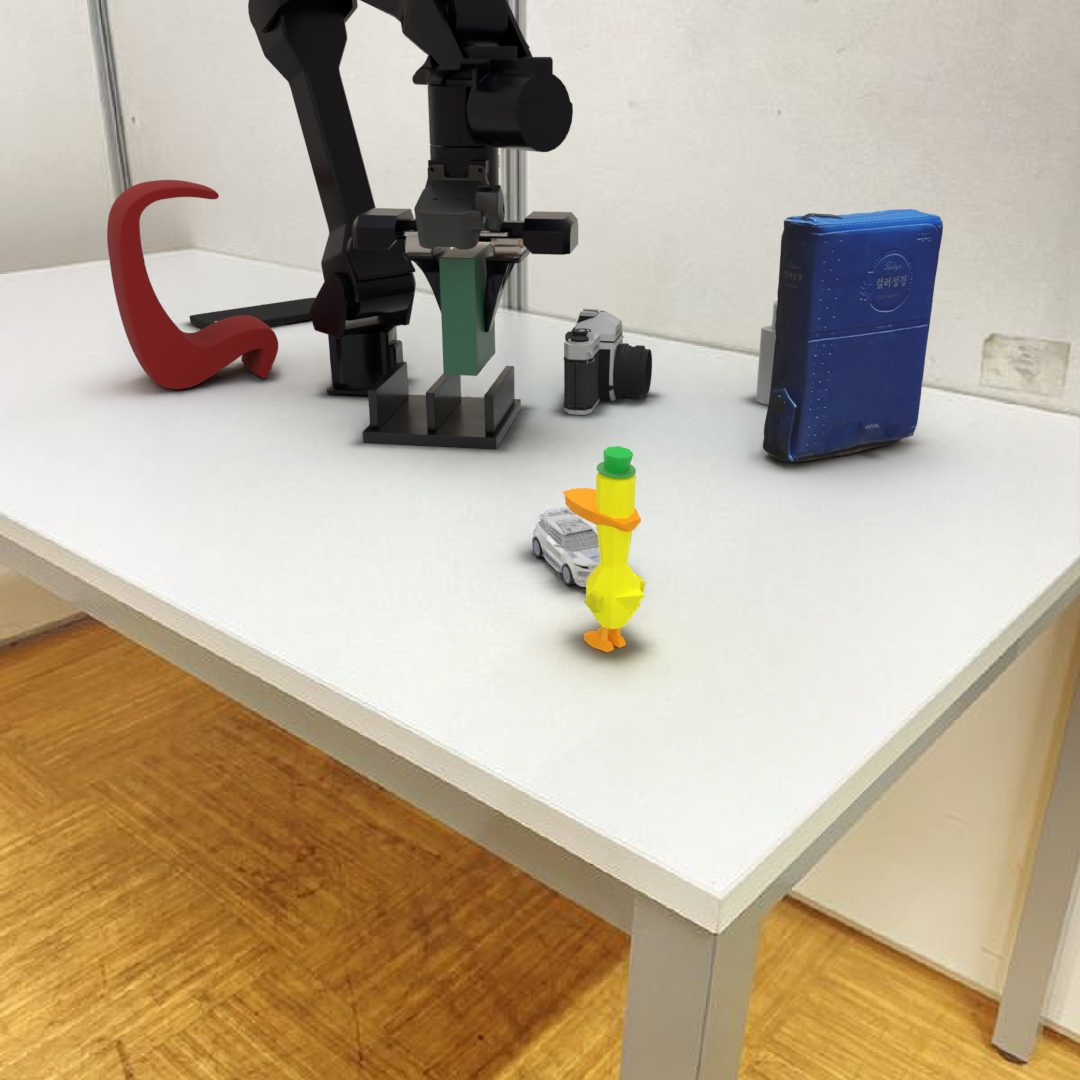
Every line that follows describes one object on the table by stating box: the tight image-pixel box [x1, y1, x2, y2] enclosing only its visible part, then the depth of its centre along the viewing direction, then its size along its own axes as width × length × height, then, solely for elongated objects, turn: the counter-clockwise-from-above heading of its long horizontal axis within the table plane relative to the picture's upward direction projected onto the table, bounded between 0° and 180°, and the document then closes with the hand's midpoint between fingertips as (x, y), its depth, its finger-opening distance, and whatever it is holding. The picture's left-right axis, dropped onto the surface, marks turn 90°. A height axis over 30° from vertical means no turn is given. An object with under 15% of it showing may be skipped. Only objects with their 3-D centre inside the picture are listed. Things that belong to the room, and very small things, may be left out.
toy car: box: [531, 506, 600, 588], centre depth 75 cm, size 4×8×3 cm, turn 24°
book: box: [762, 208, 944, 463], centre depth 93 cm, size 14×5×20 cm, turn 118°
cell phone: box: [189, 297, 316, 329], centre depth 145 cm, size 9×18×1 cm, turn 129°
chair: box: [106, 179, 279, 390], centre depth 115 cm, size 15×7×20 cm, turn 118°
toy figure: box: [561, 445, 646, 653], centre depth 64 cm, size 7×4×12 cm, turn 38°
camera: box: [563, 308, 653, 416], centre depth 110 cm, size 13×8×9 cm, turn 169°
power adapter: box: [755, 300, 777, 406], centre depth 109 cm, size 3×5×12 cm, turn 128°
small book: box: [439, 242, 496, 377], centre depth 99 cm, size 3×8×10 cm, turn 171°
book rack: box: [362, 361, 522, 450], centre depth 103 cm, size 12×12×4 cm
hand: (469, 330), depth 100 cm, fingers closed on small book, 3 cm apart
